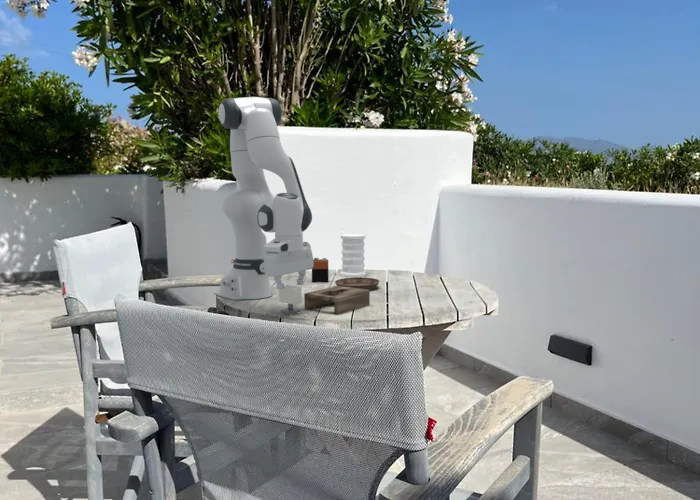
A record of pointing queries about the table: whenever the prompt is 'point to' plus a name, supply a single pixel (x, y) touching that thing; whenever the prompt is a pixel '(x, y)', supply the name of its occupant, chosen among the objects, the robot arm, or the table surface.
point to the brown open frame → (338, 298)
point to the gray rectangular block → (290, 298)
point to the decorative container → (353, 255)
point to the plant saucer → (358, 283)
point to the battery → (320, 270)
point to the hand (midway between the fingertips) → (290, 286)
